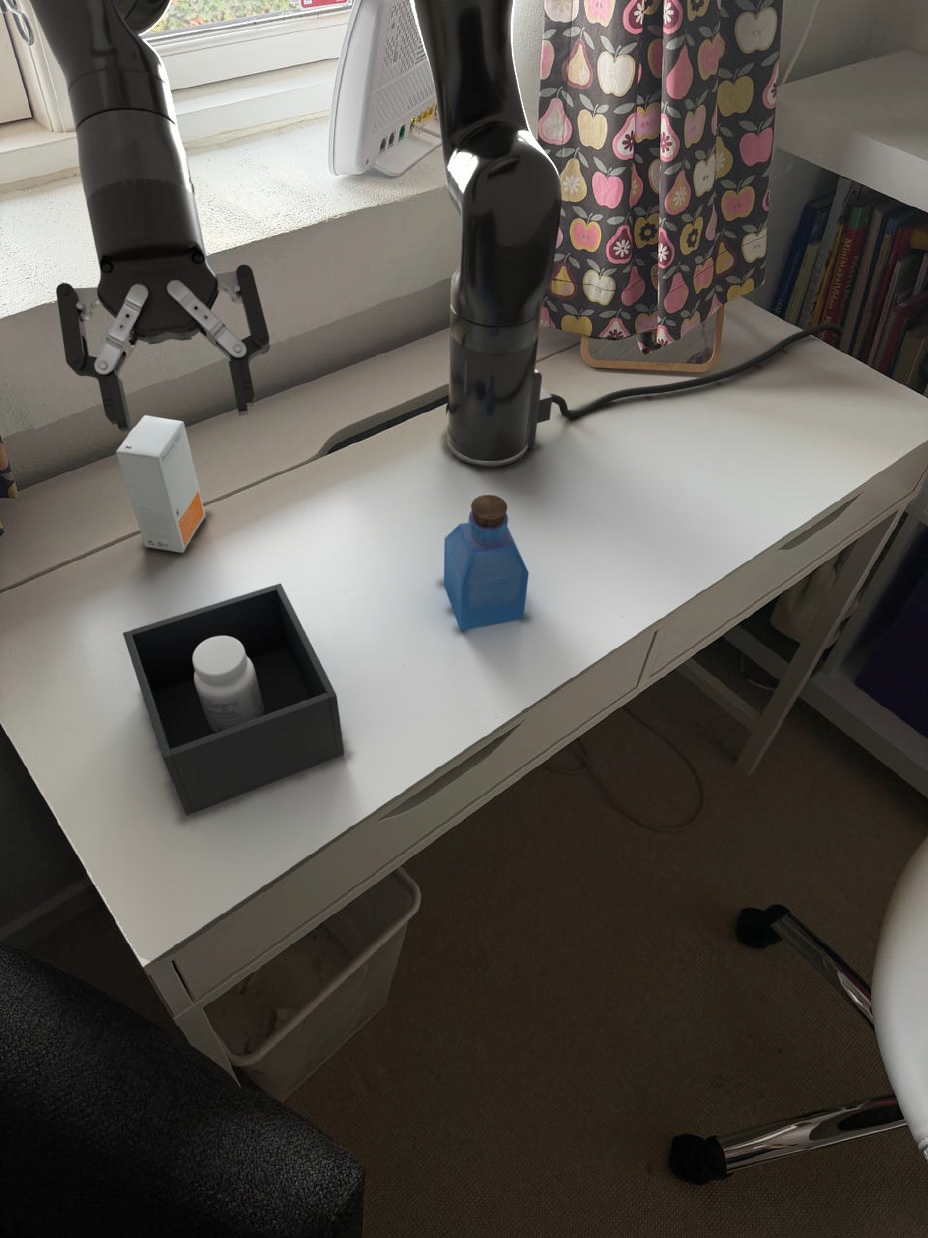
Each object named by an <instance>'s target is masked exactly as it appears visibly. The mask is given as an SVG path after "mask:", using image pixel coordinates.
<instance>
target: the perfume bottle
mask: <svg viewBox="0 0 928 1238" xmlns="http://www.w3.org/2000/svg"><path fill="white" fill-rule="evenodd" d="M470 509H471V511H469V514H468V522H464V523H459V524H458V525H457V526H456V527H455V528H453V530H452V531H450V533H448V534H447V535H446V536H445V537H444V546H443V547H444V549H443V550H444V553H443V586H444V589H445V592H446V595H447V597H448V600H449V603H450V606H451V608H452V612H453V614H454V617H455V619H456V623H457V625H458V628H459V631H465V630H471V629H476V628H481V627H486V626H487V627H488V626H493V625H497V624H503V623H508V622H514V621H518V620H523V619H524V615H525V607H526V601H527V600H526V598H527V591H528V582H529V576H530V575H529V573H530V572H529V570H528V568H527V566H526V563H525V561H524V559H523V557H522V555H521V552H520V550H519V548H518V545H517V543H516V542H515V539H514V537H513V535H512V533H511V530H510V528H509V525H508V524H509V516H508V513H507V511H508V504H507V502H506V501H505V500H504V498H502V497H500V496H497V495H493V494H482V495H479V496H477V497H475V498H474V499H473V500H472V502H471V504H470Z"/></svg>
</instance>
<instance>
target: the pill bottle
mask: <svg viewBox="0 0 928 1238" xmlns="http://www.w3.org/2000/svg"><path fill="white" fill-rule="evenodd" d="M193 665H194V669H195V673H194V682H195V686H196V689H197V692H198V695H199V698H200V701H201V704H202V707H203V710H204V713H205V716H206V719H207V722H208V725H209V727H210V729H211V730H212V732H213V733H214V734H215V733H218V732H220V731H223V730H226V729H229V728H231V727H234V726H237V725H240V724H242V723H245V722H248V721H251V720H254V719H256V718H259V717H262V716H264V715H265V710H264V704H263V701H262V697H261V693H260V689H259V685H258V681H257V677H256V673H255V669H254V666H253V663H252V662H251V660H250V659H249V658H248V657H247V655H246V653H245V650H244V647H243V645H242V644H241V643H240V642H239V641H238V640H237V639H235V638H233V637H229V636H216V637H212V638H209V639H207V640H205V641H204V642H202V643H201V644H200V645H199V646H198V647H197V648H196V649H195V651H194V653H193Z"/></svg>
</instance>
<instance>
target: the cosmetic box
mask: <svg viewBox="0 0 928 1238" xmlns="http://www.w3.org/2000/svg"><path fill="white" fill-rule="evenodd" d="M186 430H187V429H186V426H185V422H184V421H183V420H176V419H171V418H165V417H164V418H163V417H158V416H153V415H147V414H145V415H143V416H142V418H141V419H140V420H139V421H138V423H137V424H136V425H135V426H134V427H133V428H132V430H131V431H129V432H128V434H127V436H126V438H125V439H124V440H123V442H122V443H121V444H120V445H119V447H118V448H117V449H116V451H115V454H116V457H117V460H118V463H119V467H120V471H121V473H122V477H123V480H124V483H125V487H126V488H127V493H128V496H129V499H130V503H131V506H132V508H133V512H134V515H135V518H136V521H137V525H138V528H139V531H140V534H141V538H142V541H143V545H144V546H145V547H146V548H151V549H157V550H163V551H169V552H174V553H175V552H176V553H180V554H183V553H184V552H185V551H186V548H187V546H188V545H189V543H190V541H191V540H192V538H193V537H194V535H195V533H196V532H197V531H198V529H199V527H200V526H201V524H202V523H203V521H204V519H206V513H205V508H204V505H203V499H202V493H201V490H200V486H199V485H200V484H199V481H198V477H197V473H196V469H195V464H194V460H193V456H192V451H191V447H190V444H189V440H188V434H187V431H186Z"/></svg>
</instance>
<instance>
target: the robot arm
mask: <svg viewBox="0 0 928 1238" xmlns="http://www.w3.org/2000/svg"><path fill="white" fill-rule="evenodd" d="M28 2H29V4H30V6H31V9H32V10H33V13H34V15H35V17H36V20H37V22H38V24H39V26H40V28H41V30H42V33H43V35H44V37H45V39H46V42H47V44H48V46H49V48H50V51H51V53H52V54H53V57H54V58H55V61H56V62H57V64H58V66H59V69H60V70H61V72H62V74H63V77H64V79H65V80H64V81H65V84H66V89H67V95H68V100H69V105H70V108H71V114H72V115H71V116H72V120H73V124H74V130H75V134H76V141H77V151H78V153H77V155H78V165H79V173H80V179H81V183H82V187H83V193H84V198H85V203H86V207H87V213H88V217H89V222H90V228H91V232H92V237H93V243H94V247H95V253H96V256H97V262H98V266H99V272H100V273H99V274H100V275H99V276H100V277H99V281H98V284H97V286H94V287H93V286H92V287H74V286H72V285H71V284H70V283H68V282H62V283H59V284H58V285H57V286H56V288H55V295H56V301H57V308H58V314H59V322H60V328H61V329H60V330H61V335H62V343H63V349H64V350H63V351H64V356H65V362H66V364H67V366H68V367H69V368H70V369H71V370H72V371H73V372H74V373H75V374H76V375H77V376H79V377H89V378H90V377H91V378H93V379H97V382H98V385H99V391H100V396H101V399H102V400H101V401H102V406H103V410H104V415H105V417H106V418H107V419H108V421H109V422H110V423H111V424H112V425H113V426H114V425H116V426H117V428H118V430H119V431H121V432H122V433H123V432H131V430H132V429H133V428H132V423H131V417H130V412H129V407H128V404H127V399H126V393H125V388H124V384H123V381H122V379H121V378H120V374H121V372H122V370H123V368H124V366H125V364H126V363H127V361H128V359H129V358H130V357H131V356H132V355H133V353H134V351H135V349H136V348H137V345H138V343H139V341H141V342H143V343H147V344H148V345H156V344H157V345H158V344H162V343H164V342H166V341H169V340H175V341H181V342H183V341H189V340H192V338H193V337H195V336H196V335H198V334H199V333H200V334H201V335H202V336H203V337H204V338H205V339H206V341H208V342H209V343H210V344H211V345H212V346H213V347H216V348H217V349H218V350H219V351H220V352H221V353H222V354H223V355H225V356H226V357H227V359H229V360H228V366H229V371H230V375H231V380H232V386H233V391H234V396H235V402H236V408H237V412H238V416H239V417H242V416H247V415H249V411H248V410H249V408H248V407H254V406H255V400H256V396H255V390H254V385H253V380H252V375H251V369H250V363H251V361H252V360H253V359H254V358H256V357H258V356H259V355H265V354H267V353H268V351H269V350H270V347H271V345H270V334H269V330H268V325H267V322H266V319H265V315H264V311H263V307H262V303H261V299H260V295H259V292H258V287H257V283H256V279H255V274H254V270H253V269H252V267H251V266H249V265H248V264H240V265H239V266H238V267H237V268H236V270H235V271H229V272H223V273H216V274H215V273H214V271H213V270H212V268H211V267H210V265H209V264H208V259H207V253H206V249H205V243H204V237H203V233H202V229H201V228H202V227H201V223H200V222H201V221H200V218H199V212H198V209H197V208H198V207H197V203H196V198H195V187H194V186H195V185H194V183H193V181H192V177H191V171H190V167H189V161H188V160H187V155H186V152H185V149H184V146H183V144H182V140H181V137H180V133H179V130H178V123H177V118H176V112H175V107H174V103H173V97H172V93H171V89H170V88H171V87H170V84H169V83H170V82H169V78H168V75H167V72H166V69H165V68H166V67H165V65H164V63H163V60H162V59H161V57H160V55H159V53H158V52H157V51H156V50H155V49H154V47H152V46H151V44H149V43H148V42H147V41H146V40H145V39H144V38H143V37H142V36H141V35H144V34H146V33H147V32H149V31H150V30H152V29H153V28H154V27H155V26H156V25H157V24H158V23H159V22H160V21H162V19H163V17H164V16H165V14H166V13H167V11H168V9H169V8H170V4H171V2H172V0H28ZM409 2H410V5H411V10H412V14H413V16H414V21H415V24H416V27H417V30H418V33H419V37H420V39H421V43H422V46H423V49H424V52H425V55H426V58H427V62H428V66H429V70H430V74H431V79H432V84H433V89H434V95H435V103H436V110H437V117H438V126H439V133H440V141H441V151H442V152H441V153H442V159H443V160H442V161H443V170H444V179H445V184H446V189H447V191H448V194H449V199H450V200H451V202H452V203H453V204H452V205H453V206H454V208H455V210H456V211H457V213H458V214H459V216H460V218H461V242H460V261H459V262H460V263H459V267H458V268H457V269H456V270H455V271H454V273H453V275H452V277H451V281H450V308H449V309H450V311H449V315H450V316H449V367H448V368H449V369H448V370H449V371H448V401H447V403H446V406H445V415H446V416H447V414H448V416H447V417H448V419H447V434H446V444H447V447H448V449H449V451H450V452H451V454H452V455H453V456H454V457H455V458H457V459H459V460H460V461H462V462H464V463H466V464H469V465H472V466H475V467H481V468H498V467H503V466H507V465H511V464H513V463H515V462H517V461H519V460H520V459H522V458H523V457H524V455H525V454H526V453H527V451H528V450H530V449H533V448H535V446H536V438H537V429H538V424H539V423H544V422H547V421H550V419H551V414H552V413H551V412H552V403H554V404H556V405H557V406H558V408H559V412H560V414H561V415H562V416H563V417H564V418H568V419H574V418H579V417H582V416H583V415H586V414H589V413H591V412H593V411H594V410H596V409H598V408H600V407H602V406H603V405H606V404H608V403H610V402H613V401H616V400H619V399H624V398H628V397H635V396H644V395H645V396H646V395H653V394H663V393H670V392H675V391H681V390H686V389H690V388H695V387H699V386H704V385H709V384H712V383H715V382H718V381H722V380H725V379H727V378H730V377H733V376H735V375H738V374H740V373H743V372H745V371H747V370H749V369H751V368H753V367H754V366H756V365H758V364H760V363H762V362H764V361H766V360H768V359H770V358H771V357H773V356H776V354H778V353H779V352H780V351H782V350H783V349H784V348H785V347H786V348H787V346H789V345H790V344H792V343H794V342H797V341H799V340H801V339H804V338H808V337H810V336H813V335H815V334H818V333H821V332H826V331H832V332H834V333H835V334H836V335H840V336H841V335H844V334H845V331H844V329H843V328H842V326H840V325H839V324H837V323H833V322H825V323H821V324H817V325H815V326H812V327H809V328H807V329H804V330H801V331H798V332H795V333H793V334H791V335H789V336H787V337H785V338H784V339H782V340H780V342H778V343H777V344H775V345H774V346H773V347H771V348H770V349H768V350H766V351H764V352H763V353H760V354H759V355H757V356H754V357H753V358H751V359H749V360H747V361H745V362H743V363H741V364H738V365H736V366H733V367H730V368H728V369H725V370H722V371H719V372H716V373H713V374H709V375H706V376H702V377H697V378H693V379H688V380H687V379H686V380H683V381H678V382H671V383H666V384H658V385H647V386H639V387H638V386H637V387H631V388H630V387H629V388H624V389H620V390H616V391H612V392H610V393H607V394H604V395H602V396H600V397H599V398H597V399H595V400H594V401H592V402H590V403H588V404H586V405H584V406H582V407H580V408H577V409H568V404H567V401H566V399H564V397H562V396H560V395H558V394H555V393H550V392H548V391H547V389H545V388H544V386H543V385H542V382H543V374H542V373H541V372H540V371H539V370H538V369H537V368H536V365H537V358H538V357H537V356H538V345H539V338H540V337H539V336H540V325H541V315H542V306H543V300H544V299H543V298H544V295H545V293H546V291H547V290H548V288H549V285H550V283H551V279H552V277H553V271H554V266H555V265H554V264H555V258H556V251H557V244H558V236H559V230H560V224H561V222H560V221H561V215H562V214H561V213H562V202H563V201H562V198H563V197H562V184H561V183H562V182H561V179H560V175H559V171H558V169H557V168H556V166H555V164H554V163H553V161H552V160H551V158H550V157H549V156H548V154H547V153H546V152H545V150H544V149H543V148H542V147H541V146H540V144H539V143H538V142H537V141H536V139H535V137H534V136H533V134H532V131H531V129H530V126H529V123H528V119H527V116H526V113H525V109H524V105H523V101H522V95H521V91H520V87H519V81H518V76H517V71H516V65H515V58H514V49H513V23H514V9H515V0H409ZM220 291H221V292H225V293H226V294H228V296H229V299H230V300H231V301H232V302H233V303H235V304H242V307H243V311H244V316H245V319H246V324H247V327H248V331H249V335H248V336H246V337H244V338H242V339H240V338H239V337H238V336H236V334H234V333H233V332H232V330H230V329H229V327H227V326H226V324H225V323H224V322H223V320H221V319H220V318H219V317H218V316H217V315H216V314H215V313H214V312H213V311H212V308H213V306H214V304H215V302H216V300H217V298H218V296H219V293H220ZM98 305H102V307H103V308H104V309H105V310H106V311H107V312H108V313H109V314H110V315H111V316H112V317H114V318H115V320H114V321H113V323H112V324H111V327H110V329H109V331H108V332H107V335H106V337H105V342H104V344H103V346H102V347H101V350H100V352H99V354H98V356H94V355H90V352H89V351H90V350H89V345H88V338H87V337H88V336H87V331H86V324H85V322H87V321H90V320H91V319H92V318H93V317H94V309H95V308H96V307H97V306H98Z"/></svg>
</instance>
